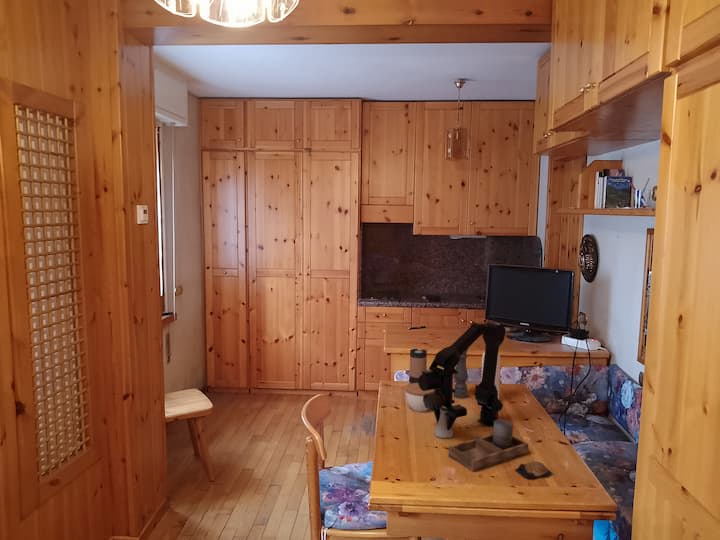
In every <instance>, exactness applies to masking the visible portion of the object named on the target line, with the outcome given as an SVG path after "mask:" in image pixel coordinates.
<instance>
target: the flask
mask: <svg viewBox="0 0 720 540" xmlns="http://www.w3.org/2000/svg"><path fill="white" fill-rule="evenodd" d="M440 411H441V414H440V419H439V421H438V424H437V423H436V426H435V430H434V431H433V434H434V436H435V437H436V438H440V439H452V437H453V436H454V432H453V429H452V428H451V429H450V430H447V417H446V416H445V415H444V413H448V409H446V408H444V407H443V408H440Z"/></svg>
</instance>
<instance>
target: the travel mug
mask: <svg viewBox="0 0 720 540" xmlns="http://www.w3.org/2000/svg"><path fill="white" fill-rule="evenodd" d="M409 353H410V354H409V384H412V383H418V379H419V377H420V376H421V375H422V372H423V371H428V370H427V363H428V361H427V360H428V357H427V356H428V355H427V353H428V351H427V350H426V349H425V348H424V349H418V348H412V349H410V351H409Z"/></svg>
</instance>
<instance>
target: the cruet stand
mask: <svg viewBox="0 0 720 540" xmlns="http://www.w3.org/2000/svg"><path fill="white" fill-rule="evenodd" d="M492 432H493V433H491V434H487V435H484V436H480V437H475V438H473V439H470V440H469V439H468V440H467V441H463V442H459V443H457V444H452V445H449V446H448V457H449V458H451V459H452V460H453V461H455V462H457V463H458V464H460V465H461V466H463V467H465V468H467V469H468V470H469V471H471V472H473V473H474V472H477V471H480V470H483V469H485V468H489V467H492V466H495V465H498V464H501V463H504V462H507V461H510V460H513V459H517V458H519V457H522V456H526V455H528V454H529V443H527V442H525V441H523V440H521V439H519V438H517V437H514V436H513V433H514V423H513V422H512V421H510V420H507V419H502V418H498V420H495V421H494V426H493V431H492Z"/></svg>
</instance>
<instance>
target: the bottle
mask: <svg viewBox="0 0 720 540" xmlns="http://www.w3.org/2000/svg"><path fill="white" fill-rule="evenodd" d="M484 356H485V351H484V352H483V353H482V356H481V372H480V373H481V376H480V382H481V381H482V374H483V365H484ZM500 376H501V356H500V353H499V352H498V359H497V367H496V376H495V386H496V388H497V391H498V399H499V400H500V382H501V377H500Z"/></svg>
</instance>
